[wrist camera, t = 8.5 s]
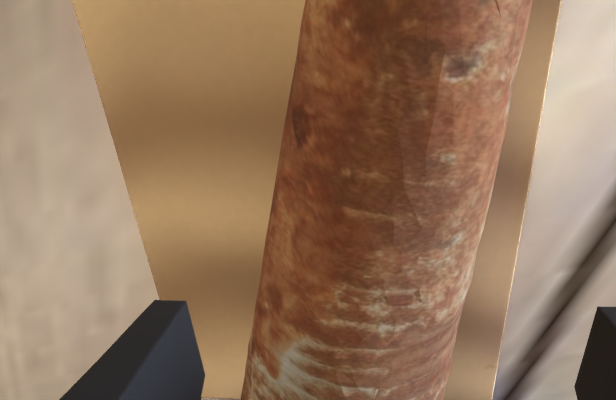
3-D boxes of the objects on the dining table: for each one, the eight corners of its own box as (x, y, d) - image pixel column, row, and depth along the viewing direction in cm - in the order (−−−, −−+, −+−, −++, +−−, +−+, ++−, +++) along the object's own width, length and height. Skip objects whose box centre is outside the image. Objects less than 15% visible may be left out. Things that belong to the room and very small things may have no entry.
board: (484, 376, 22) (490, 408, 21) (197, 368, 24) (187, 397, 22) (605, -397, 10) (637, -429, 9) (13, -322, 12) (-29, -341, 11)
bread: (250, 375, 21) (216, 525, 17) (322, -255, 11) (286, -326, 6) (411, 402, 21) (422, 560, 17) (642, -203, 11) (850, -236, 6)
